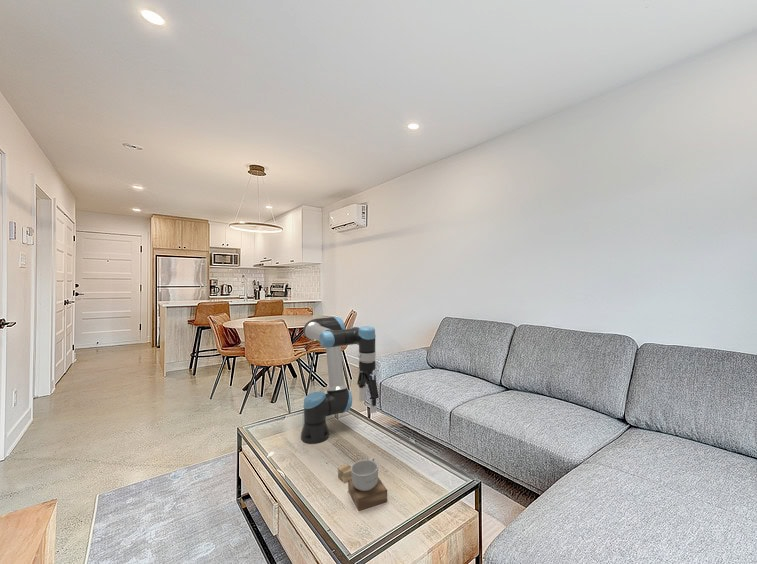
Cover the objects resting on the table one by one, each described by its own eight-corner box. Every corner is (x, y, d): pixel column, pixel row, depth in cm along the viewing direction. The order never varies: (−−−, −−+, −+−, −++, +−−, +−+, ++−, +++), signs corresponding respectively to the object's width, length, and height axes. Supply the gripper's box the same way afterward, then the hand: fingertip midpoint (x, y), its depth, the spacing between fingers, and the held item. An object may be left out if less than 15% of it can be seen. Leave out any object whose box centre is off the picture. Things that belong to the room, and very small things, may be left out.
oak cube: (338, 479, 144) (338, 467, 144) (347, 474, 148) (347, 463, 147) (344, 484, 141) (344, 473, 140) (354, 480, 144) (353, 468, 143)
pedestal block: (348, 491, 135) (348, 479, 135) (375, 483, 140) (375, 472, 140) (358, 511, 124) (358, 498, 124) (387, 502, 129) (387, 489, 129)
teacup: (368, 499, 123) (367, 478, 123) (345, 488, 129) (345, 468, 129) (387, 479, 135) (387, 460, 135) (365, 470, 141) (365, 452, 141)
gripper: (350, 355, 160) (350, 398, 161) (369, 369, 138) (370, 419, 138) (364, 353, 163) (365, 395, 164) (386, 367, 141) (386, 416, 141)
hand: (367, 406), depth 151 cm, fingers open, 13 cm apart
